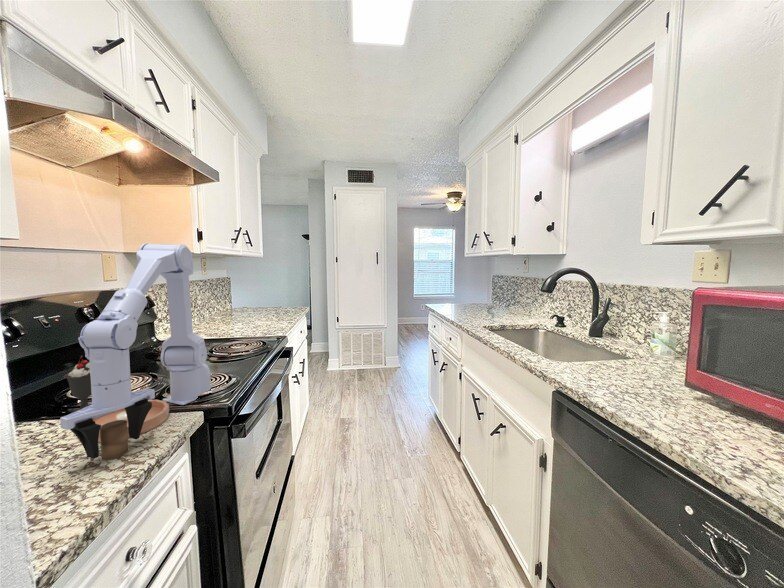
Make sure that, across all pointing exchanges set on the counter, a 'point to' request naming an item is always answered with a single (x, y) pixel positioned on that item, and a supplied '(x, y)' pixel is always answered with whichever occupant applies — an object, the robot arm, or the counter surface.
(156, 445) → the counter surface
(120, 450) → the brown cylinder
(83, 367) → the sundae
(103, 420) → the groove tray
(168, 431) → the counter surface
